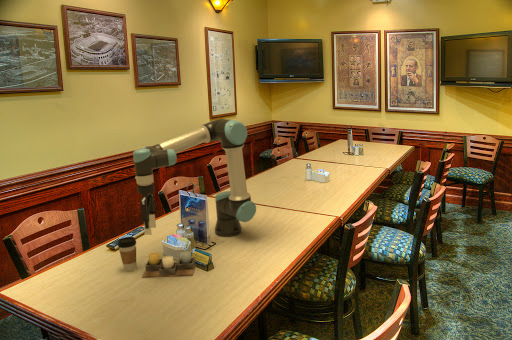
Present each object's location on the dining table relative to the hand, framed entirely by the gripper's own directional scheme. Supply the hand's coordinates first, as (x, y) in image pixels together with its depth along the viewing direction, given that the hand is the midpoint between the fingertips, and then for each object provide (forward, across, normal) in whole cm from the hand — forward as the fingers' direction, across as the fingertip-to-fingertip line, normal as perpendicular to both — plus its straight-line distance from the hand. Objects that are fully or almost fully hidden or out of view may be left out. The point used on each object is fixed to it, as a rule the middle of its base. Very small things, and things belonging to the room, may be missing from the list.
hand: (150, 230), depth 204 cm
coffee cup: (+19, -2, -12) cm, 23 cm away
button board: (+19, +2, +8) cm, 21 cm away
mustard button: (+16, 0, 0) cm, 16 cm away
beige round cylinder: (+16, +4, +8) cm, 18 cm away
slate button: (+16, 0, +15) cm, 22 cm away
